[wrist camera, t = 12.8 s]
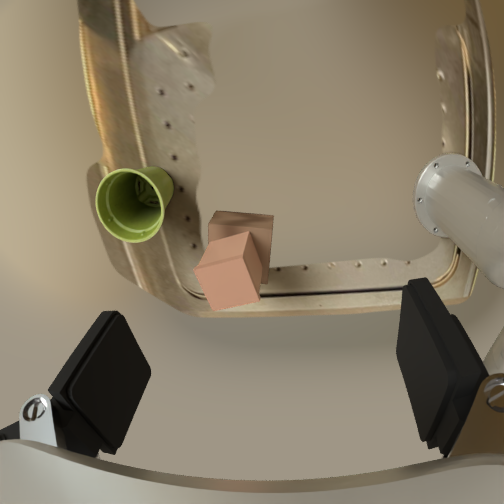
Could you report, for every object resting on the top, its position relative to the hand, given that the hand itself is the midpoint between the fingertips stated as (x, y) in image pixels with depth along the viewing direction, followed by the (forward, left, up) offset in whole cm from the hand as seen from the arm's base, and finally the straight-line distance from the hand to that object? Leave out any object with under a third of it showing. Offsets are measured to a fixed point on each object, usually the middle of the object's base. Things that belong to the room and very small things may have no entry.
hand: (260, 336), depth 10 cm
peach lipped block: (+7, +11, -29) cm, 31 cm away
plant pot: (+18, +1, -34) cm, 38 cm away
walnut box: (+7, +11, -34) cm, 36 cm away
